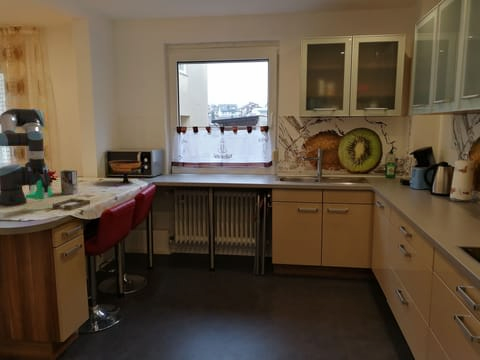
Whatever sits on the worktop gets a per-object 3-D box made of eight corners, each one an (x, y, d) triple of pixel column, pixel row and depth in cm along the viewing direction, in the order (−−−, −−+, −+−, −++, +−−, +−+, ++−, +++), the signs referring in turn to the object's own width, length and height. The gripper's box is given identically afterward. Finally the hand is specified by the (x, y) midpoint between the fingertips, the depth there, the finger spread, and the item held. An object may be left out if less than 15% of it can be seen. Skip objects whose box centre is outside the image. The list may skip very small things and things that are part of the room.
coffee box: (78, 192, 265) (77, 170, 262) (73, 194, 259) (72, 171, 256) (66, 192, 266) (65, 169, 264) (61, 193, 260) (59, 171, 257)
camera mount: (41, 195, 222) (40, 178, 220) (52, 196, 220) (51, 179, 218) (25, 199, 211) (24, 181, 209) (36, 201, 209) (35, 183, 207)
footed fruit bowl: (97, 182, 307) (97, 161, 304) (118, 178, 330) (118, 159, 327) (133, 187, 293) (133, 164, 290) (152, 182, 316) (152, 161, 314)
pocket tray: (52, 208, 219) (52, 204, 219) (72, 202, 235) (71, 198, 235) (71, 210, 216) (71, 206, 216) (90, 203, 232) (89, 200, 232)
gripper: (16, 157, 210) (18, 196, 214) (47, 160, 205) (49, 200, 209) (26, 156, 217) (29, 194, 221) (57, 158, 212) (58, 197, 217)
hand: (38, 197), depth 215 cm, fingers closed on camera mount, 8 cm apart
